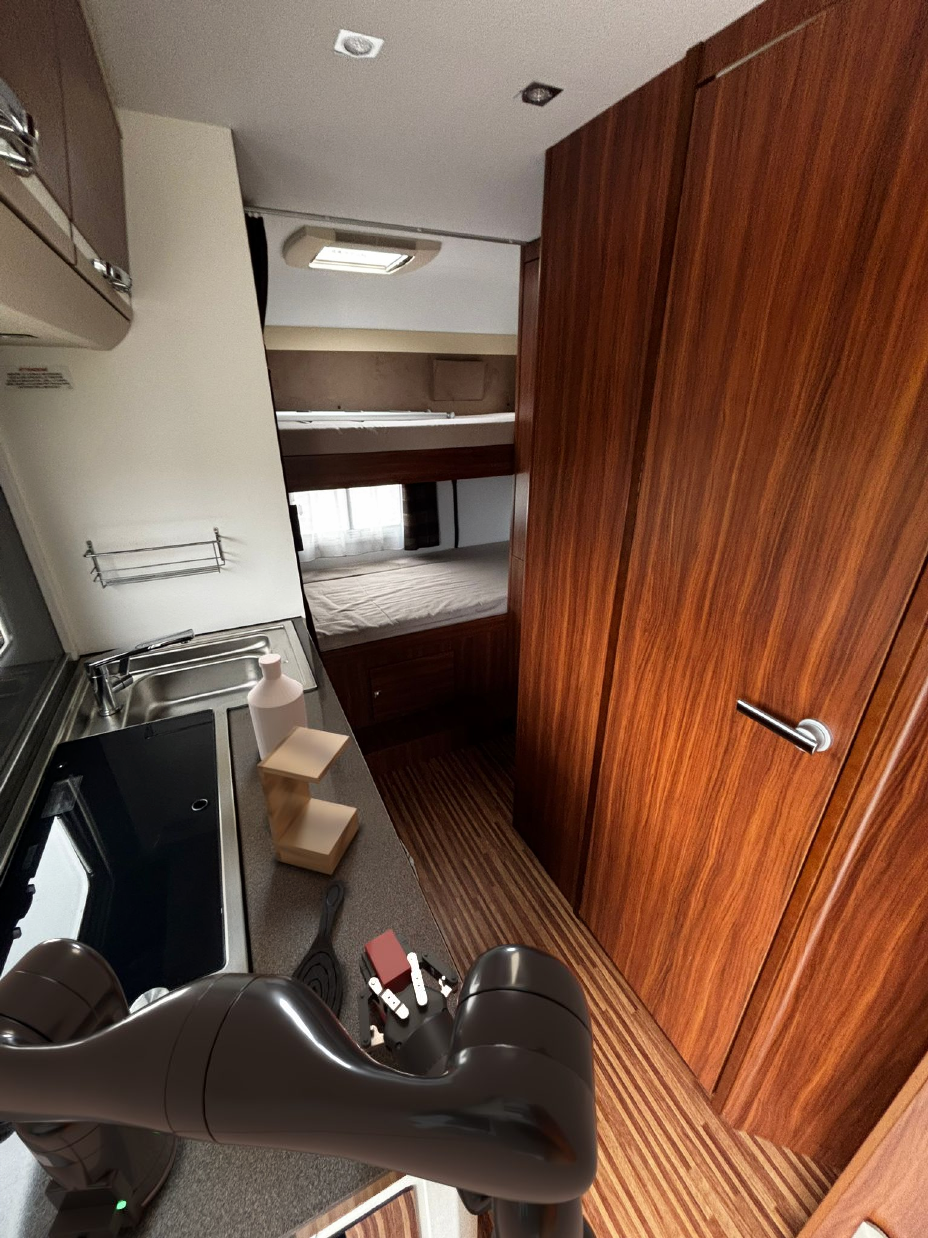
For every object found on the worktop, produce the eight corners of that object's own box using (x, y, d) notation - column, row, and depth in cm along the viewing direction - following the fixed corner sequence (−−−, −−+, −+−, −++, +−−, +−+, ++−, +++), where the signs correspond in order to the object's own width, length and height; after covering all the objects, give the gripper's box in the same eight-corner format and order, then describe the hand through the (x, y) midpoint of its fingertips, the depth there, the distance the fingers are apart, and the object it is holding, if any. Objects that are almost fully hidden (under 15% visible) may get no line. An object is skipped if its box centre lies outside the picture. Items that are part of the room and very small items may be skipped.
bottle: (257, 741, 120) (238, 651, 110) (307, 729, 125) (294, 642, 114) (261, 772, 110) (241, 677, 100) (315, 758, 115) (301, 665, 105)
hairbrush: (360, 871, 85) (329, 1041, 61) (362, 887, 86) (331, 1058, 63) (312, 873, 84) (261, 1043, 61) (314, 888, 86) (266, 1061, 62)
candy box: (394, 972, 72) (391, 928, 68) (414, 1011, 68) (411, 966, 64) (369, 989, 70) (364, 944, 66) (387, 1030, 66) (383, 985, 62)
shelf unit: (331, 875, 87) (317, 778, 78) (277, 860, 90) (257, 765, 81) (359, 827, 97) (349, 736, 88) (309, 815, 99) (294, 725, 90)
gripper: (496, 1018, 57) (423, 902, 70) (384, 1107, 50) (326, 959, 63) (494, 1053, 60) (424, 936, 73) (388, 1142, 53) (332, 994, 66)
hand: (379, 947), depth 68 cm, fingers closed on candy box, 4 cm apart
